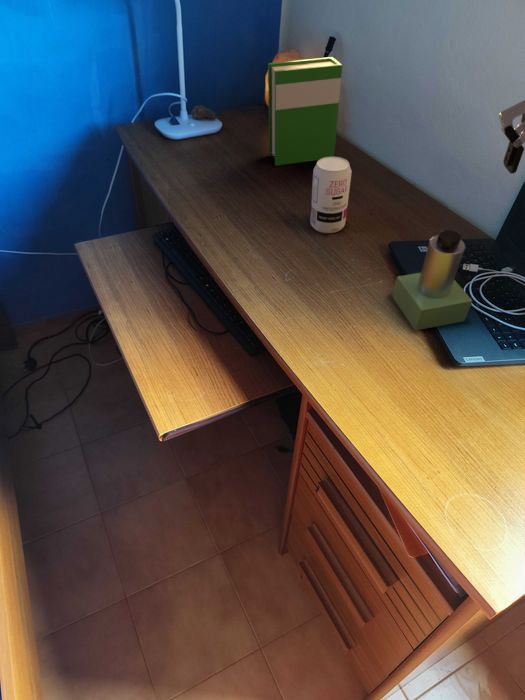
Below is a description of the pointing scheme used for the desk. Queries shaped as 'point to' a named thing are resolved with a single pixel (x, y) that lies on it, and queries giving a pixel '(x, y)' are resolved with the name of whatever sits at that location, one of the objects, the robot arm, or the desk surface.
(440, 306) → the block
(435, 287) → the flask
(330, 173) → the supplement can
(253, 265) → the desk surface
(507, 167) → the robot arm
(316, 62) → the hardback book
